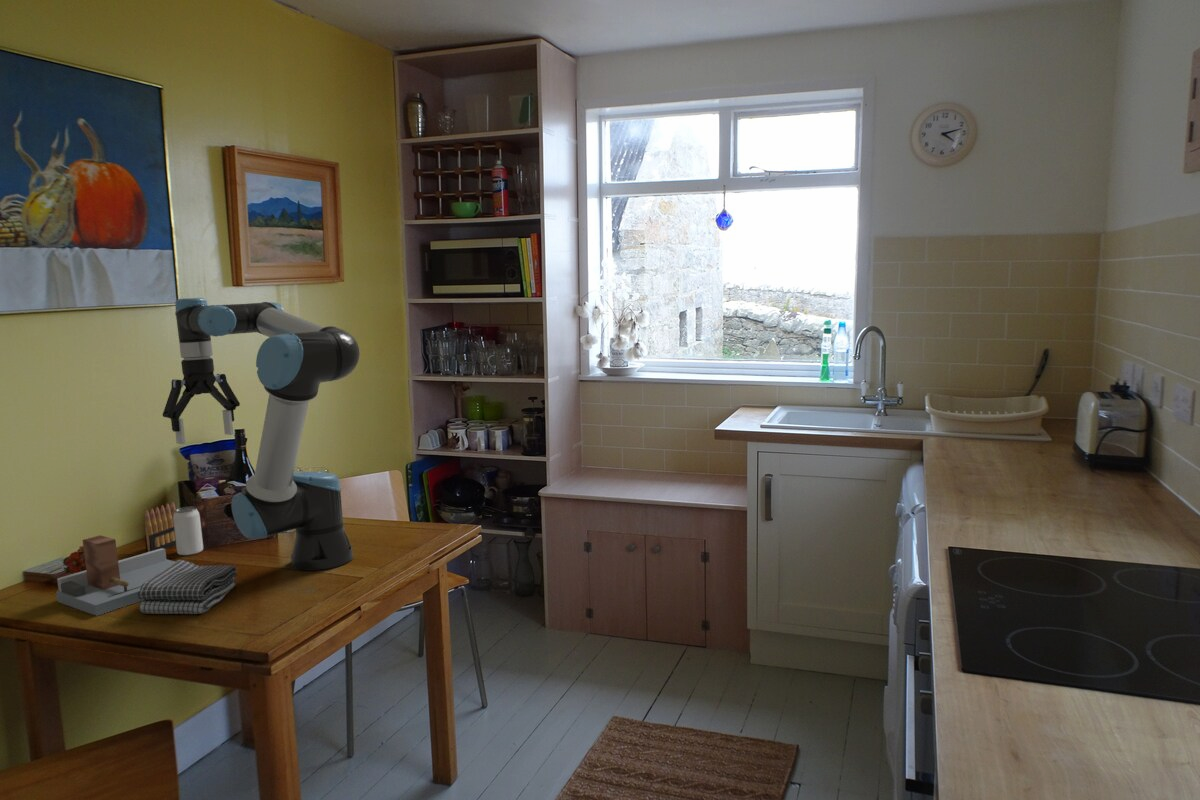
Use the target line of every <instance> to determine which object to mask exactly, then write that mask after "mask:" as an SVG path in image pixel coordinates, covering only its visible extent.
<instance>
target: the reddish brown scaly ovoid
mask: <svg viewBox="0 0 1200 800" xmlns="http://www.w3.org/2000/svg"><path fill="white" fill-rule="evenodd" d="M78 548H79V549H78V550H77V551H74V552H71V553H70V555H69V556H67V557H65V558H64V559H63V561H62V563H63V566H66V567H63V569H64V572H65V573H66V574H71V573H73V574H75V573H76V572H77V573H78V572H82V571H85V570H86V563H85V556H84V548H83V545H80V546H79V547H78Z"/></svg>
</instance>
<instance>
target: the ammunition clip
mask: <svg viewBox="0 0 1200 800" xmlns="http://www.w3.org/2000/svg"><path fill="white" fill-rule="evenodd" d="M165 504H166V505H165V507H164V505H163V504H162V505H160V509H159V507H158V506H156V508H155V511H154V509H153V507H151V509H150V511H148V509H145V513H144V528H145V529H144V530H145V535H144V541H145V553H147V552H150V551H154V550H157V549H161V548H163V549H165V550H166V549H168V548H170V547H172V546H176V539H175V530H174V521H173V516H174V513H175V512H174V510H176V509H177V508H176V504H175V502H174V501H172V502H171V503H170V504H169V503H165Z"/></svg>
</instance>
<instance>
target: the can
mask: <svg viewBox="0 0 1200 800" xmlns="http://www.w3.org/2000/svg"><path fill="white" fill-rule="evenodd" d="M174 512H175V513H174V516H173V521H174V530H175V539H176V545H175V547H176V553H177V554H178V555H179V556H182V557H183V556H184V557H185V556H193V555H197V554H199V553H202V551H203V550H204V541H203V532H202V525H201V524H202V523H201V515H200V512H199V511H198V508H197V506H183V507H178V508H176V510H174Z"/></svg>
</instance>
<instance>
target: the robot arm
mask: <svg viewBox="0 0 1200 800" xmlns="http://www.w3.org/2000/svg"><path fill="white" fill-rule="evenodd" d="M207 301H208V300H207V299H206V298H204V297H191V298H189V297H188V298H178V299H176V300H175V312H174V315H175V318H176V328H177V334H178V343H179V349H180V350H179V352H180V358H182V360H181V362H180V364H181V372H182V374H183V375H182V376H183V377H182V378H183V379H177V378H176V379H172V380H171V387H170V393H169V394H168V397H167V400H166V403H165V407H164V408H163V412H162V418H167V419H169V420H170V421H171V430H172V432H175V441H176V444H178V445H185V444H186V437H185V427H184V420H183V418H180V417H181V415H182V414H183V412H184V411H185V409H186V407H187V406H188V405H189V403H190V401H191V400H192V398H194V397H195V396H196V395H201V394H209V395H211V397H213V398H214V399H215V400H216V402H218V403H219V404H220V405H221V406H222V407H223V408H224V409H222V411H221V412H222V419H223V428H224V429H223V430H224V435H226V436H227V435H228V436H233V435H234V428H233V427H234V426H233V422H235V414H234V413H235V412H234V411H235V410H236V408H237V407H239V406H241V403H240V401H239V400H238V397H237V396H236V395H235V393H234V391H233V389H232V388H231V386H230V385H229V383H228V381H227V376H226V374H225V373H217V374H216V375H215V365H214V358H212V356H213V354H214V353H213V347H212V340H211V339H212V337H223V336H226V335H237V334H238V335H239V334H249V333H256V334H257V333H258V334H260V335H262V336H263V335H264V336H266V337H268V338H266V339H265V340H263V342H262V344H261V345H260V346H259V349H258V351H257V354H256V359H255V360H256V362H255V365H256V366H255V367H256V368H257V370H256V373H257V377H258V380H259V382H260V383H261V384H262V386H263V389H264V390H265V392H267V394H268V401H267V405H266V411H265V417H264V421H263V422H264V423H263V427H262V433H261V439H260V442H259V450H258V454H257V459H256V465H255V470H254V474H252V475H251V476H250V477H248V478H247V480H246V482H245V487H244V491H243V492H238V493H237V494H234V495H233V497H232V498H231V513H232V516H233V519H234V520H233V521H234V522H235V524H236V527H237V528H238V530H239V531H240V533H241V534H242V535H243V536H244V537H245V538H246V539H248V540H259V539H265V538H268V537H271V536H274V535H278V534H281V533H285V532H288V531H293V530H295V539H294V544H293V549H292V553H291V556H290V557H291V558H290V559H291V566H292V567H293V568H294V569H296V570H299V571H300V570H301V571H317V570H318V571H319V570H320V571H321V570H329V569H332V568H337V567H339V566H342V565H345V564H347V563H349V562H350V561H351V560H353V558H354V553H353V547H352V545H351V542H350V540H349V537H348V536H347V535H348V534H347V533H346V531H345V528H344V517H343V505H342V494H341V493H342V488H341V484H340V479H339V476H338V475H336V474H334V473H331V472H323V471H302V472H295V468H296V464H297V460H298V455H299V454H298V453H299V450H300V445H301V440H302V435H303V431H304V427H305V426H304V425H305V420H306V415H307V412H308V406H309V402H310V401H313V400H314V399H315V398H316V397H317V396H318V393H319V388H320V384H321V383H327V382H333V381H334V382H335V381H339V380H341V379H343V378H346V377H347V376H349V375H350V374H352V372H353V371H354V370H355V369H356V368H357V365H358V364H359V360H360V352H361V351H360V346H359V344H358V342H357V340H356V338H355V337H354V336H353V335H352V334H351V333H349V332H348V331H346V330H344V329H341V328H338V327H336V326H331V325H328V326H327V325H326V326H322V325H320V324H317V323H315V322H311V321H309V320H306V319H304V318H301V317H298V316H296V315H294V314H292V313H288V312H286V311H285V309H284V308H283V307H282V305H281V304H280V303H278V302H269V301H263V302H254V303H236V304H234V303H233V304H232V303H231V304H212V305H209V304H208V302H207ZM211 336H212V337H211ZM215 382H216V383H217V385H218V386H219V388H220V389H221V391H222V392H220V391H219V388H217V386H215ZM183 387H185V389H183V391H182V388H183ZM181 391H182V394H181ZM222 393H223V394H224V395H223V394H222ZM180 394H181V397H180ZM179 397H180V398H179Z"/></svg>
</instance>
